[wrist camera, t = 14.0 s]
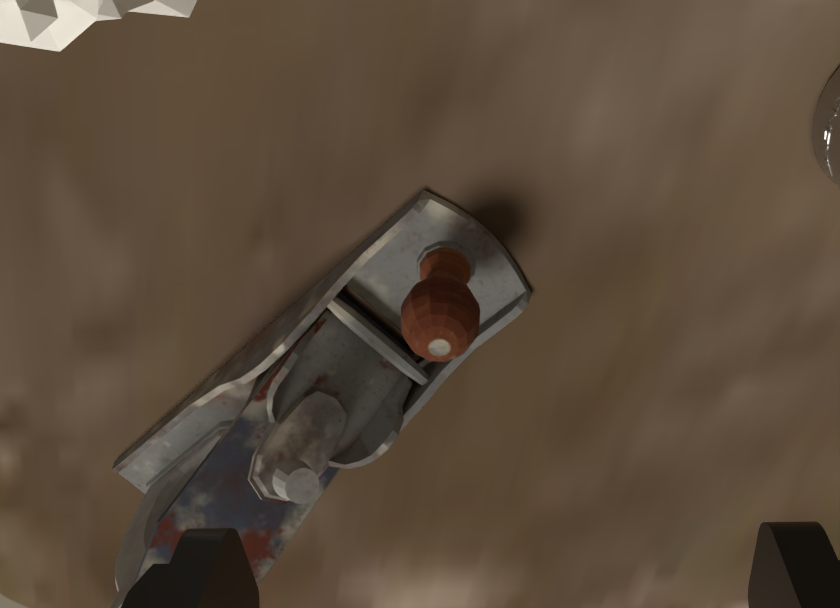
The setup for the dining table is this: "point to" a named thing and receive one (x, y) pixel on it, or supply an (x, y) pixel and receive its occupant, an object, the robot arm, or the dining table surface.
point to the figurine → (71, 18)
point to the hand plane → (319, 389)
